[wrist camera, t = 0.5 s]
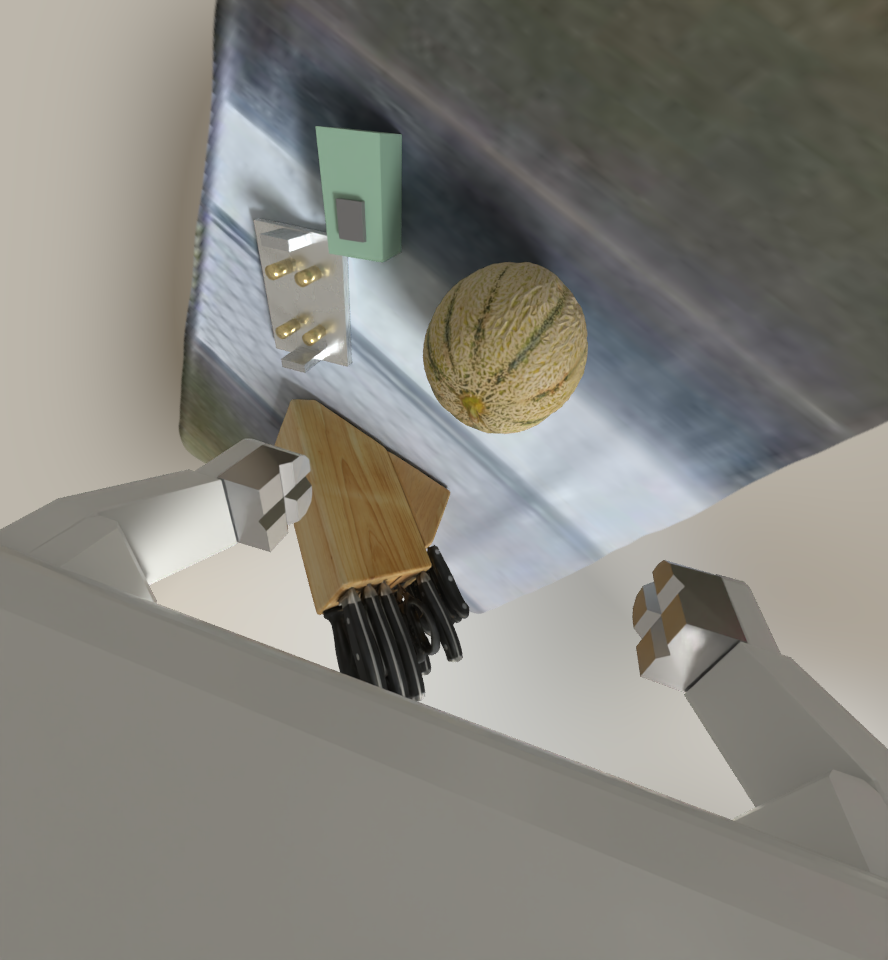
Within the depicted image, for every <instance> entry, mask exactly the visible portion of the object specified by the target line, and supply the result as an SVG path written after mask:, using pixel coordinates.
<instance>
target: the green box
mask: <svg viewBox="0 0 888 960" xmlns="http://www.w3.org/2000/svg"><path fill="white" fill-rule="evenodd" d="M315 127H316V136H317V146H318V155H319V164H320V174H321V183H322V192H323V202H324V211H325V221H326V230H327V239H328V249H329V254H335V255H341V256H347V257H353V258H359V259H365V260H371V261H377V262H385V261H386V260H388V259H390V258H392V257H393V256H395V255H397V254H399V253H400V252H401V210H402V134H394V133H385V132H376V131H367V130H358V129H349V128H337V127H321V126H315Z"/></svg>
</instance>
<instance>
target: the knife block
mask: <svg viewBox="0 0 888 960" xmlns="http://www.w3.org/2000/svg"><path fill="white" fill-rule="evenodd" d="M275 446H277V447H280V448H283V449H287V450H290V451H293V452H296V453H299V454H302V455H305V456H306V457H307V458H308V459H309V462H310V470H311V471H310V472H309V473H308V474H307V475H306V478H307V479H308V481H309V482H310V484H311V485H312V499H311V504H310V506H309V508H308V510H307V512H306V514H305V515H304V516H303V517H302V518H301V519H300V521H298V522H295V523H294V527H295V531H296V535H297V539H298V543H299V547H300V551H301V555H302V559H303V562H304V567H305V570H306V574H307V578H308V582H309V586H310V590H311V594H312V597H313V601H314V604H315V608H316V612H317V614H319V615H321V614H323V615H324V618H325V619H327V620H329V621H330V623H331V625H332V629H333V634H334V641H335V650H336V656H337V660H338V665H339V669H340V673H343V674H345V675H348V676H351V677H353V678H356V679H359V680H361V681H364V682H367V683H369V684H372V685H375V686H377V687H380V688H383V689H385V690H388V691H391V692H393V693H396V694H399V695H401V696H404V697H407V698H409V699H412V700H415V701H421V700H422V699H423V698H424V696H425V689H424V682H423V678H422V675H428V674H429V673H430V672H431V664H430V660H429V656H428V655H434V654H436V653H437V652H438V651H439V648H440V642H441V644H442V646H443V648H444V651H445V653H446V656H447V660H448V661H449V662H458V661H460V660H461V659H462V658H463V656H462V649H461V646H460V642H459V639H458V637H457V634H456V631H455V628H454V626H453V624H454V623H455V622H456V623H459V622H460V621H461V620H462V618H467V617H468V616H469V606H468V605H467V604H466V603H465V601H464V599H463V598H462V596H461V593H460V591H459V589H458V587H457V585H456V583H455V580H454V578H453V576H452V574H451V572H450V570H449V568H448V566H447V564H446V562H445V561H444V559H443V557H442V555H441V553H440V551H439V549H438V547H437V546H435V545H434V546H431V547H429V546H430V545H431V543H432V542H433V540H434V537H435V534H436V532H437V529H438V526H439V524H440V521H441V518H442V516H443V513H444V510H445V507H446V505H447V502H448V499H449V496H450V491H449V490H447V489H446V488H444V487H443V486H441V485H440V484H438V483H437V482H435V481H434V480H432V479H431V478H429V477H428V476H426V475H425V474H423V473H422V472H420V471H419V470H417V469H416V468H414V467H413V466H411V465H410V464H408V463H406V462H405V461H403V460H402V459H400V458H399V457H397V456H395V455H394V454H392V453H390V452H388V451H386V449H385V448H384V447H383V446H382V445H380V444H379V443H377V442H376V441H375V440H373V439H372V438H370V437H369V436H367V435H366V434H364V433H363V432H361V431H360V430H358V429H357V428H355V427H354V426H353V425H351V424H350V423H348V422H347V421H345V420H344V419H342V418H341V417H339V416H338V415H336V414H335V413H333V412H332V411H330V410H329V409H327V408H326V407H325V406H323V405H322V404H320V403H319V402H317V401H316V400H302V399H293V400H291V401H290V404H289V407H288V410H287V413H286V415H285V418H284V421H283V423H282V426H281V428H280V431H279V434H278V437H277V440H276V443H275ZM426 548H428V551H426ZM403 596H404V599H405V600H404V601H402V598H403ZM424 632H425V633H426V634H428V635H429V636H431V644H430V643H429V640H428V638H427V637H426V635H425V633H424Z"/></svg>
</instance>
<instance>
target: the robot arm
mask: <svg viewBox="0 0 888 960" xmlns="http://www.w3.org/2000/svg"><path fill="white" fill-rule="evenodd" d="M310 471H311V470H310V462H309V459H308V458H307V457H306V456H305V455H302V454H299V453H296V452H293V451H290V450H287V449H283V448H280V447H277V446H274V445H271V444H266V443H264V442H260V441H257V440H254V439H243V440H242V441H240V442H239V443H237V444H236V445H234V446H233V447H231V448H229V449H228V450H226V451H225V452H223V453H222V454H220V455H219V456H217V457H216V458H214V459H213V460H211V461H210V462H208V463H206V464H205V465H203V466H202V467H201V468H199V469H197V470H196V471H192V470H185V471H180V472H175V473H171V474H166V475H162V476H158V477H153V478H148V479H144V480H139V481H135V482H130V483H126V484H121V485H117V486H112V487H108V488H103V489H99V490H94V491H90V492H85V493H81V494H77V495H72V496H67V497H63V498H58V499H56V500H54V501H52V502H51V503H49V504H47V505H45V506H43V507H42V508H39V509H38V510H36V511H34V512H32V513H30V514H28V515H26V516H25V517H23V518H21V519H19V520H18V521H15V522H14V523H12V524H10V525H8V526H6V527H5V528H3V529H0V960H888V749H887V748H886V747H885V746H884V745H883V744H882V743H881V742H880V741H879V740H878V739H877V738H875V737H874V736H873V735H872V734H871V733H870V732H869V731H868V730H867V729H866V728H865V727H864V726H863V725H862V724H860V722H859V721H857V720H856V719H855V718H854V717H853V716H852V715H851V714H850V713H849V712H848V711H847V710H846V709H845V708H844V707H843V706H841V705H840V704H839V703H838V702H837V701H836V700H835V699H834V698H833V697H832V696H831V695H830V694H829V693H828V692H827V691H826V690H824V689H823V688H822V687H821V686H820V685H819V684H818V683H817V682H816V681H815V680H814V679H813V678H812V677H811V676H810V675H809V674H808V673H807V672H805V671H804V670H803V669H802V668H801V667H800V666H799V665H798V664H797V663H796V662H795V661H794V660H793V659H792V658H791V657H788V656H785V655H781V653H780V651H779V649H778V646H777V644H776V642H775V640H774V638H773V636H772V634H771V632H770V629H769V627H768V625H767V623H766V621H765V619H764V617H763V614H762V612H761V610H760V609H759V606H758V604H757V602H756V600H755V597H754V595H753V593H752V591H751V589H750V587H749V586H748V585H747V584H746V583H744V582H743V581H739V580H735V579H732V578H728V577H725V576H721V575H717V574H716V575H714V574H711V573H707V572H704V571H700V570H697V569H693V568H690V567H686V566H683V565H679V564H676V563H673V562H669V561H665V560H663V561H662V562H660V563H659V564H658V565H657V566H656V568H655V569H654V571H653V578H654V582H652V583H649V584H647V585H644V586H643V587H642V588H641V590H640V591H639V593H638V595H637V596H636V600H635V603H634V606H633V626H634V629H635V630H636V632H637V633H638V634H639V636H640V637H641V638H642V640H641V641H640V642H639V644H638V645H637V646H636V649H637V656H638V663H639V670H640V676H641V677H643V678H646V679H648V680H651V681H654V682H657V683H659V684H662V685H665V686H668V687H670V688H673V689H676V690H678V691H681V692H684V693H685V694H684V695H685V697H686V699H687V700H688V702H689V703H690V705H691V706H692V708H693V709H694V711H695V713H696V714H697V716H698V717H699V719H700V721H701V722H702V724H703V725H704V727H705V728H706V730H707V731H708V733H709V735H710V736H711V738H712V740H713V741H714V743H715V744H716V746H717V747H718V749H719V751H720V752H721V754H722V755H723V757H724V758H725V760H726V762H727V763H728V765H729V766H730V768H731V769H732V771H733V773H734V774H735V776H736V777H737V779H738V780H739V782H740V784H741V785H742V787H743V788H744V790H745V791H746V793H747V795H748V796H749V798H750V799H751V801H752V802H753V804H754V806H755V807H756V808H754V809H752V810H750V811H748V812H746V813H744V814H742V815H740V816H738V817H736V818H735V819H734V820H730V819H727V818H725V817H722V816H720V815H717V814H714V813H711V812H709V811H706V810H704V809H701V808H698V807H696V806H693V805H690V804H688V803H685V802H682V801H679V800H677V799H674V798H672V797H669V796H666V795H663V794H661V793H658V792H655V791H653V790H650V789H648V788H645V787H642V786H640V785H637V784H634V783H632V782H629V781H627V780H624V779H621V778H619V777H616V776H613V775H610V774H608V773H605V772H602V771H600V770H597V769H595V768H592V767H589V766H587V765H584V764H582V763H579V762H576V761H573V760H571V759H568V758H566V757H563V756H560V755H558V754H555V753H552V752H550V751H547V750H544V749H542V748H539V747H536V746H534V745H531V744H528V743H526V742H523V741H521V740H518V739H515V738H512V737H510V736H507V735H504V734H502V733H499V732H496V731H494V730H491V729H489V728H486V727H483V726H481V725H478V724H476V723H473V722H470V721H468V720H465V719H462V718H460V717H457V716H454V715H452V714H449V713H446V712H444V711H441V710H438V709H436V708H433V707H430V706H428V705H425V704H422V703H420V702H417V701H415V700H412V699H409V698H407V697H404V696H401V695H399V694H396V693H393V692H391V691H388V690H385V689H383V688H380V687H377V686H375V685H372V684H369V683H367V682H364V681H361V680H359V679H356V678H353V677H351V676H348V675H345V674H343V673H340V672H337V671H335V670H332V669H329V668H327V667H324V666H321V665H319V664H316V663H313V662H310V661H308V660H305V659H303V658H300V657H297V656H295V655H292V654H289V653H287V652H284V651H281V650H279V649H276V648H273V647H271V646H268V645H266V644H263V643H260V642H258V641H255V640H252V639H250V638H247V637H244V636H242V635H239V634H236V633H234V632H231V631H228V630H226V629H223V628H220V627H218V626H215V625H212V624H210V623H207V622H204V621H202V620H199V619H196V618H194V617H191V616H189V615H186V614H183V613H181V612H178V611H175V610H173V609H170V608H167V607H165V606H162V605H159V604H157V603H156V602H157V600H156V598H155V596H154V594H153V592H152V590H151V588H150V586H149V585H150V584H152V583H154V582H157V581H159V580H161V579H163V578H165V577H167V576H170V575H172V574H174V573H176V572H178V571H180V570H182V569H184V568H187V567H189V566H191V565H193V564H195V563H197V562H200V561H202V560H204V559H206V558H208V557H210V556H212V555H215V554H217V553H219V552H221V551H223V550H225V549H227V548H230V547H232V546H234V545H236V544H237V542H239V543H243V544H246V545H249V546H252V547H256V548H259V549H262V550H266V551H269V552H271V551H272V550H273V549H274V548H275V547H276V545H277V544H278V543H279V542H280V541H281V540H282V539H283V538H284V537H285V536H286V535H287V534H288V525H290V524H293V523H295V522H298V521H300V519H301V518H302V517H303V516H304V515H305V514H306V512H307V510H308V508H309V506H310V504H311V499H312V485H311V484H310V482H309V481H308V479H307V478H306V475H307V474H308V473H309V472H310Z"/></svg>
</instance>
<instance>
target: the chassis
mask: <svg viewBox="0 0 888 960" xmlns="http://www.w3.org/2000/svg"><path fill="white" fill-rule="evenodd" d="M253 221H254V226H255V232H256V237H257V243H258V249H259V254H260V260H261V265H262V271H263V277H264V282H265V288H266V293H267V299H268V305H269V310H270V316H271V321H272V327H273V333H274V338H275V344H276V348H278V349H281V350H285V351H289V352H291V353H289V354H288V355H286V356H285V357H284V358H282V359H281V360H282V366H283V367H285V368H289V369H293V370H296V371H300V372H304V373H306V372H307V371H308V370H310V369H311V368H312V367H313V366H315V365H316V364H317V363H318V362H320V361H321V360H324V361H328V362H332V363H335V364H339V365H343V366H347V367H348V366H349V365H350V364H351V363H352V348H351V324H350V300H349V275H348V257H347V256H341V255H335V254H329V249H328V239H327V232H322V231H318V230H313V229H308V228H304V227H299V226H294V225H290V224H285V223H280V222H276V221H271V220H266V219H262V218H259V219H255V220H253Z"/></svg>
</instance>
